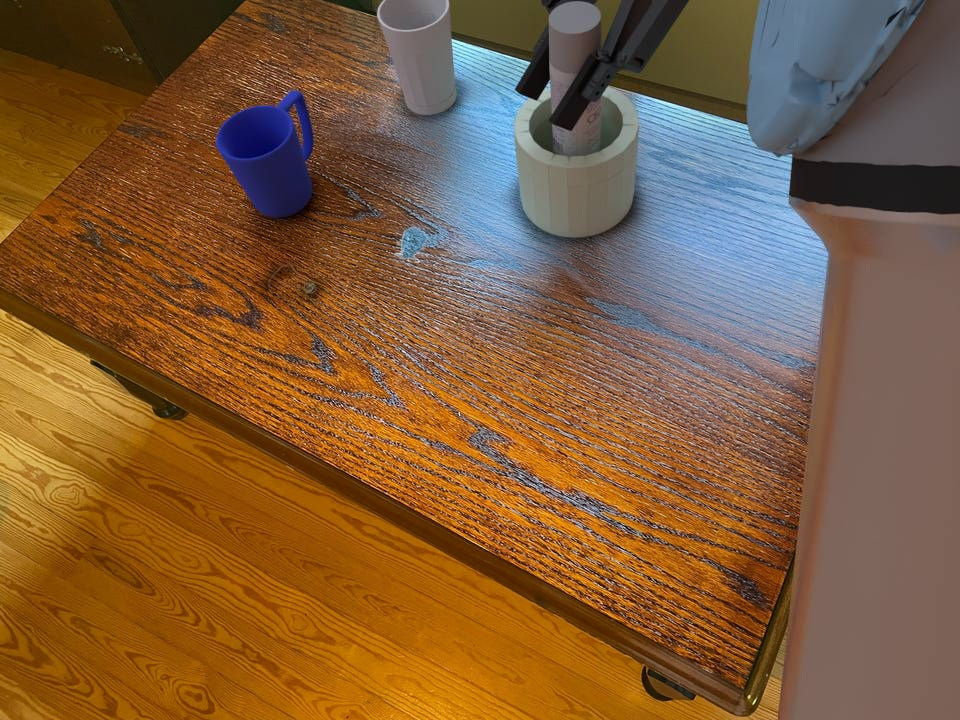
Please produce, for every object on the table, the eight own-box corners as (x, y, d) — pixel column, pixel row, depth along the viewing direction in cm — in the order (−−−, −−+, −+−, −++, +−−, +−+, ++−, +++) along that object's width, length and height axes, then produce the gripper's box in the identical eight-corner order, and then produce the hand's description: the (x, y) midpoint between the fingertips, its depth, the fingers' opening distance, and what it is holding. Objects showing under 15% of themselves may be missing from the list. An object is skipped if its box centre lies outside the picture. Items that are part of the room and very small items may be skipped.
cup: (457, 120, 93) (441, 31, 83) (392, 119, 94) (369, 31, 84) (468, 75, 97) (455, -15, 87) (406, 74, 98) (385, -14, 88)
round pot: (654, 181, 84) (662, 107, 76) (592, 255, 80) (593, 185, 72) (562, 140, 89) (560, 67, 81) (499, 208, 85) (489, 137, 76)
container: (595, 168, 77) (597, 36, 65) (549, 164, 79) (541, 33, 66) (604, 135, 80) (607, 1, 67) (558, 131, 81) (553, -2, 68)
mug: (350, 159, 91) (326, 89, 83) (296, 235, 86) (265, 168, 78) (292, 144, 94) (263, 75, 86) (236, 216, 89) (199, 150, 80)
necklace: (314, 295, 81) (311, 290, 80) (265, 292, 82) (262, 286, 81) (322, 270, 83) (320, 265, 82) (274, 267, 84) (272, 262, 83)
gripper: (805, -85, 60) (625, 171, 71) (654, -165, 69) (514, 73, 79) (766, -131, 55) (577, 155, 65) (607, -212, 63) (463, 51, 74)
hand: (542, 109), depth 72 cm, fingers closed on container, 5 cm apart
